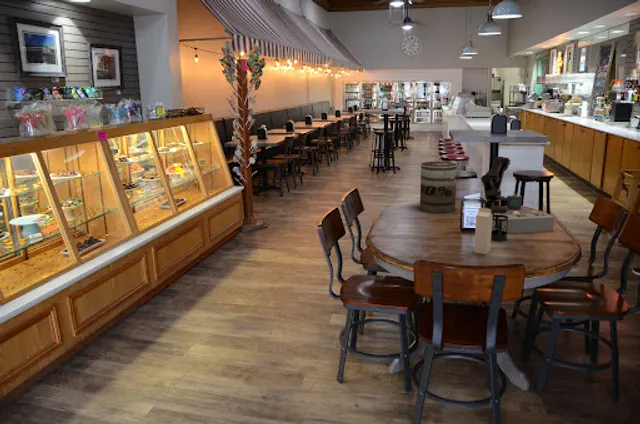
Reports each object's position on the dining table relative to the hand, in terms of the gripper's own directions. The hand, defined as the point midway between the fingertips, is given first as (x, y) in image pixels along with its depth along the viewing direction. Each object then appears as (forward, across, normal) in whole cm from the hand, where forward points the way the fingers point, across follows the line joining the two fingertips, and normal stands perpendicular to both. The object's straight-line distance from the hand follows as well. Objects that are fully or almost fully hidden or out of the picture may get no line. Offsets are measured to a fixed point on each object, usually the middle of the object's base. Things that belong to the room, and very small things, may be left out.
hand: (493, 214), depth 297 cm
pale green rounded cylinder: (+2, +23, 0) cm, 23 cm away
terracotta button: (+5, +1, -3) cm, 6 cm away
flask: (-22, +23, +32) cm, 45 cm away
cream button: (+4, +12, -2) cm, 13 cm away
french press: (+23, -4, -14) cm, 27 cm away
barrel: (-23, -26, +32) cm, 47 cm away
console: (+12, +13, -3) cm, 18 cm away
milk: (+39, -17, -29) cm, 52 cm away
